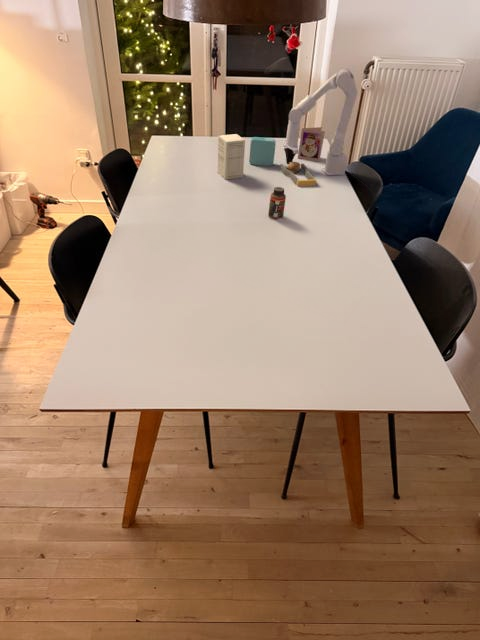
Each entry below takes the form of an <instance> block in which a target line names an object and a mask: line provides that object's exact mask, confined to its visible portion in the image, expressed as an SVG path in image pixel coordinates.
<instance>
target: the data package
mask: <svg viewBox="0 0 480 640" xmlns="http://www.w3.org/2000/svg"><path fill="white" fill-rule="evenodd" d="M275 154H276V139H275V138H272V137H259V136H253V137H251V138H250V146H249V156H248V157H249V158H248V159H249V160H248V162H249V164H250V165H254V166H262V165H263V166H262V167H264V166H266V167H272V166H273V165H274V161H275Z"/></svg>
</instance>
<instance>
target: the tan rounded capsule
mask: <svg viewBox="0 0 480 640" xmlns="http://www.w3.org/2000/svg"><path fill="white" fill-rule="evenodd" d="M300 169H301V163H300V162H297V161H292V162H290V163H289V164H288V169H287V170H289V171H291V172H293V173H294V175H298V174H299V172H300Z"/></svg>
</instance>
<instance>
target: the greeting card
mask: <svg viewBox="0 0 480 640" xmlns="http://www.w3.org/2000/svg"><path fill="white" fill-rule="evenodd" d="M300 132H301V133H300V139H299V145H298V154H297V160H298V159H299V160H305V161H312V162H318V163H319V162H320V161H321V156H322V150H323V144H324V140H325V133H326V131H325V130H322V127H321V126H320V127H302V128H301V131H300Z"/></svg>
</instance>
